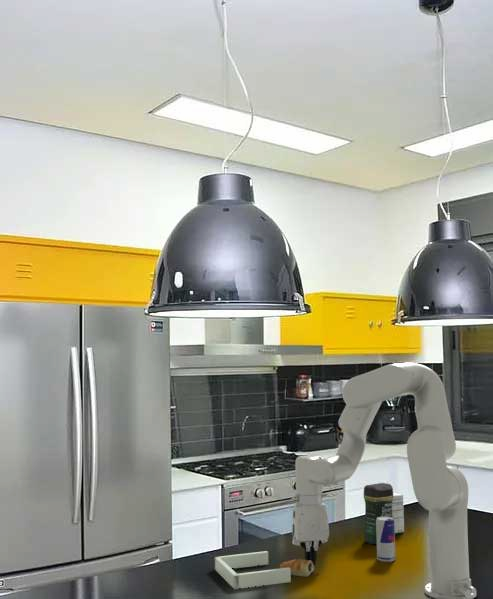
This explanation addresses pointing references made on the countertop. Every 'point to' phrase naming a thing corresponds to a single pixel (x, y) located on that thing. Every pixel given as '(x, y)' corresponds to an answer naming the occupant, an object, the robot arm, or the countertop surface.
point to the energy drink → (385, 539)
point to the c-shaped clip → (251, 578)
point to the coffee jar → (376, 507)
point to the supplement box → (398, 512)
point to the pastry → (299, 567)
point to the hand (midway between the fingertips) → (310, 564)
